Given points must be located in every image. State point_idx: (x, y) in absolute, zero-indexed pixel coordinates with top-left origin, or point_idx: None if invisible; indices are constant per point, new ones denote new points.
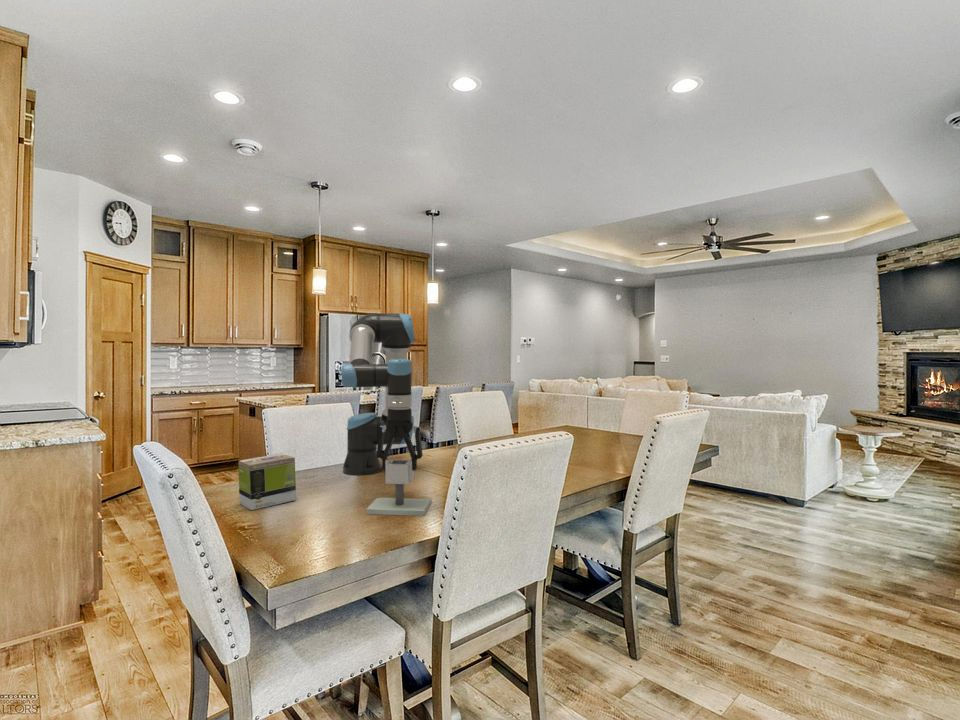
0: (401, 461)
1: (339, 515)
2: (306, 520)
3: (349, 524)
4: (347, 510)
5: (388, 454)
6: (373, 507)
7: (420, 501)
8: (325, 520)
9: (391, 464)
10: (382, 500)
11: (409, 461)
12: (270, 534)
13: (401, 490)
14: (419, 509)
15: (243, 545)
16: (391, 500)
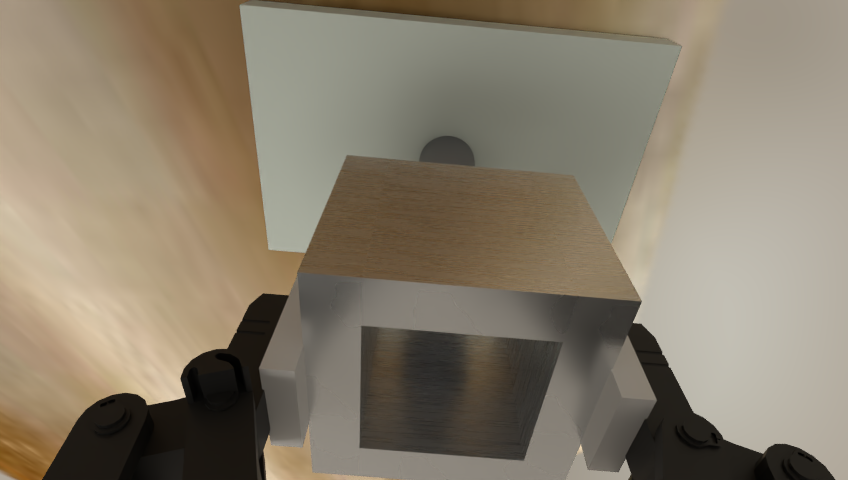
0: (466, 325)
1: (148, 252)
2: (41, 309)
3: None
4: (142, 180)
5: (255, 433)
6: (299, 224)
7: (592, 104)
8: (126, 309)
9: (377, 476)
10: (308, 85)
11: (586, 461)
12: (29, 417)
13: None
14: None
15: (26, 472)
16: (374, 83)
